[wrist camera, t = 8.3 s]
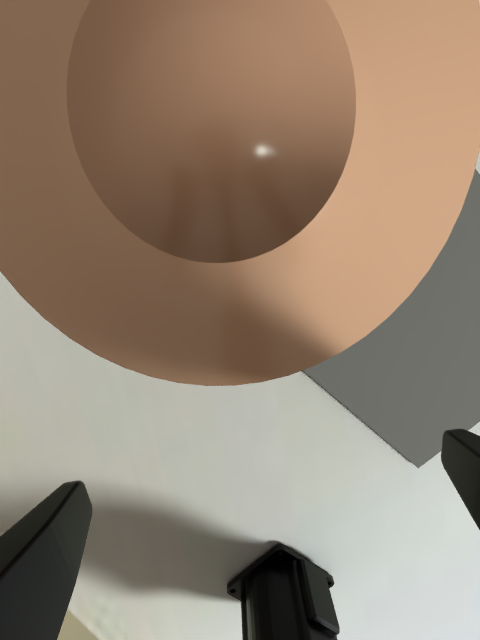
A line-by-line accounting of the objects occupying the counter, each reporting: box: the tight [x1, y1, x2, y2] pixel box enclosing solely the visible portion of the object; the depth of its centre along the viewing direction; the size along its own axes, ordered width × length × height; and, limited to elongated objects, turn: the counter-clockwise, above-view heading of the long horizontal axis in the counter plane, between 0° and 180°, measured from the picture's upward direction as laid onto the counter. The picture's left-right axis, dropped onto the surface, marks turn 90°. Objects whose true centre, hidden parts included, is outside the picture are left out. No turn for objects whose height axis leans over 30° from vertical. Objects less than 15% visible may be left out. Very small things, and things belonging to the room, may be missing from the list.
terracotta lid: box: [0, 0, 480, 386], centre depth 6 cm, size 12×12×4 cm
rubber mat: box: [303, 169, 480, 468], centre depth 21 cm, size 14×14×1 cm
